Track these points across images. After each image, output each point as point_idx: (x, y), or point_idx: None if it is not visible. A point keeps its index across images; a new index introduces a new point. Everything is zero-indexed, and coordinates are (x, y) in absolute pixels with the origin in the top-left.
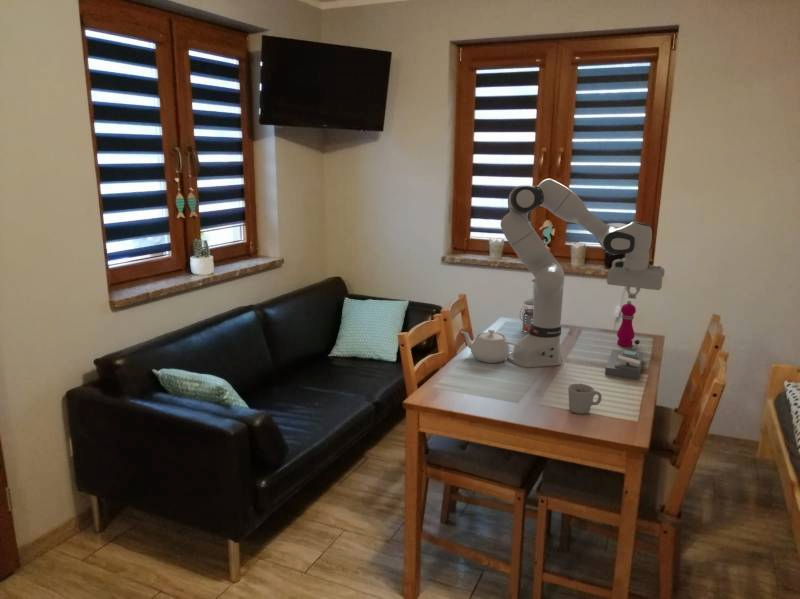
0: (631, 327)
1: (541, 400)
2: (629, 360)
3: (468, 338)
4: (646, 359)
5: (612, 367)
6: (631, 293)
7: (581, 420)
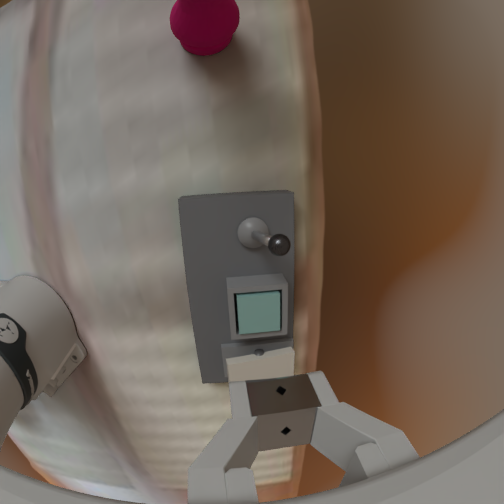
0: (226, 6)
1: (155, 481)
2: (265, 377)
3: None
4: (297, 168)
5: (219, 377)
6: (270, 428)
7: None
